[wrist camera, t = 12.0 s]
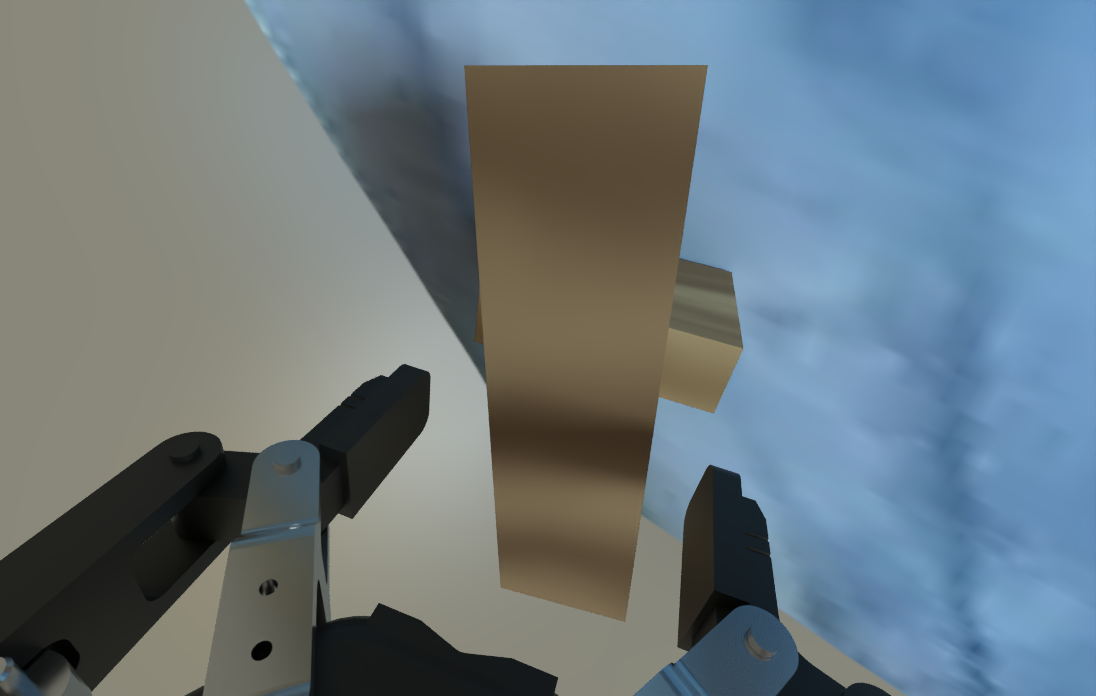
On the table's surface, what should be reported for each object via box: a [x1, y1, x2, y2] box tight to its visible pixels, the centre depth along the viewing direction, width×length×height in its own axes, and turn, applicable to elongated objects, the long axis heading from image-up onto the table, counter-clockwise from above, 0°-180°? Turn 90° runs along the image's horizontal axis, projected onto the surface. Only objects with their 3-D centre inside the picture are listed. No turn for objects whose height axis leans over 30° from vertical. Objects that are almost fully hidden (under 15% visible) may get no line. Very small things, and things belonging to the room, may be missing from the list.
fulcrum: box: [474, 259, 743, 413], centre depth 22 cm, size 3×10×8 cm, turn 80°
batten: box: [464, 65, 708, 622], centre depth 16 cm, size 18×5×5 cm, turn 179°
